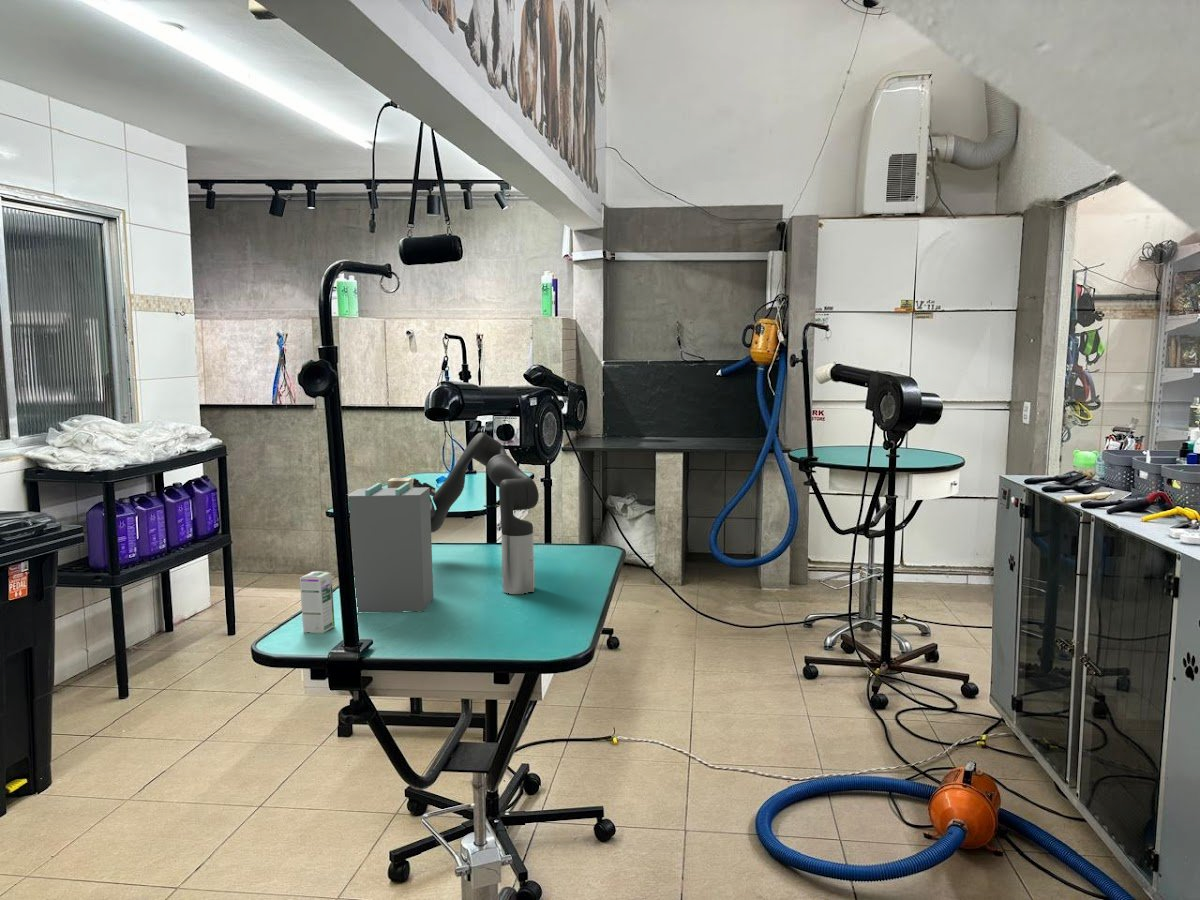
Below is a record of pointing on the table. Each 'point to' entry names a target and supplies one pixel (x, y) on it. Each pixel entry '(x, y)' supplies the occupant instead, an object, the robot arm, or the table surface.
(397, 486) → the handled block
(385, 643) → the table surface
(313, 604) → the syrup box
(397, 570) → the tall grey pedestal
